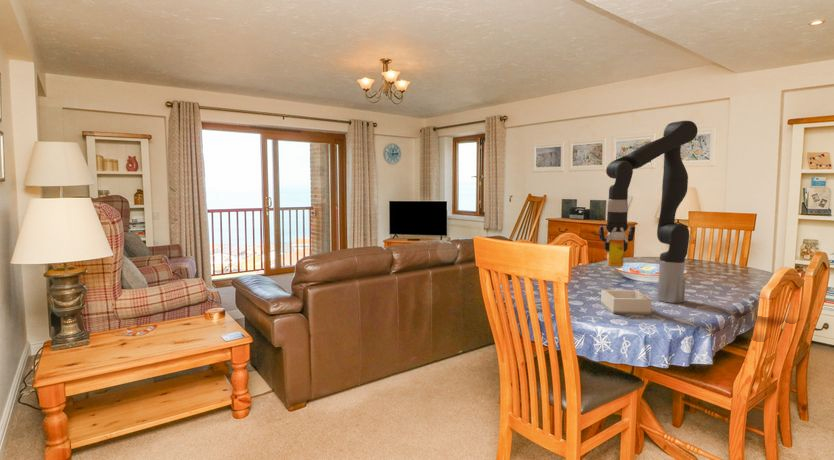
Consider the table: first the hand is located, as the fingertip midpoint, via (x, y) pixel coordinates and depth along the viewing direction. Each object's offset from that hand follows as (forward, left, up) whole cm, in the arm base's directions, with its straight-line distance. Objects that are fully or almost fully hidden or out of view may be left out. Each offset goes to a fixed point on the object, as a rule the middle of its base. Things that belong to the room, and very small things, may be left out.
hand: (615, 251), depth 186 cm
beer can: (0, 0, -7) cm, 7 cm away
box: (-2, +7, -22) cm, 23 cm away
